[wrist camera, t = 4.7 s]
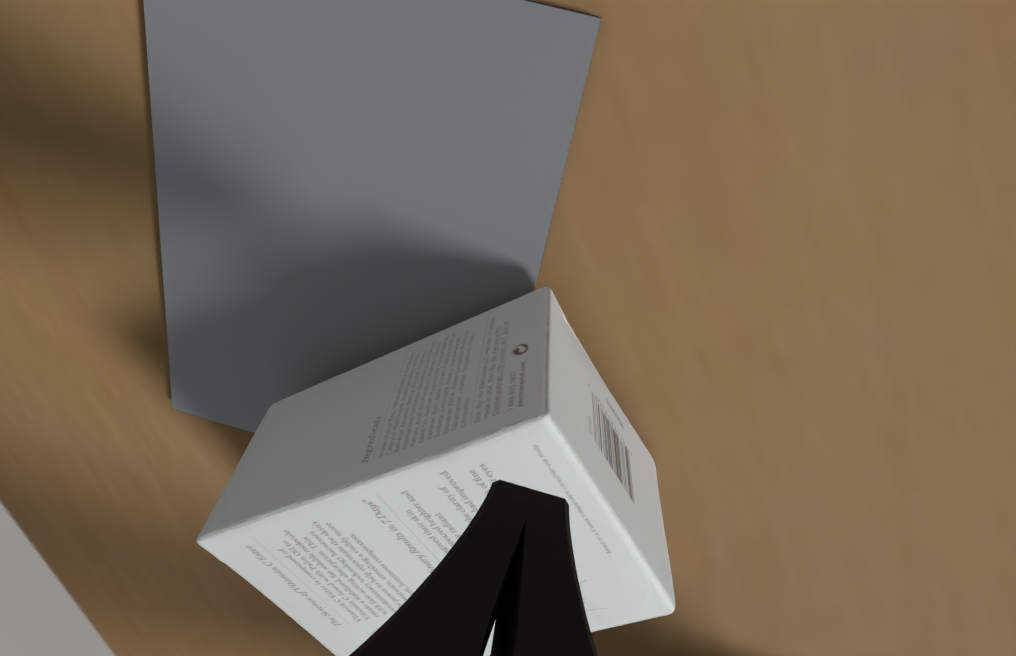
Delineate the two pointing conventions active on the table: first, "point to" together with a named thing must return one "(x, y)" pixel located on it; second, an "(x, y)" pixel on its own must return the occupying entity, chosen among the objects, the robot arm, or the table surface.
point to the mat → (348, 178)
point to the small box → (441, 476)
